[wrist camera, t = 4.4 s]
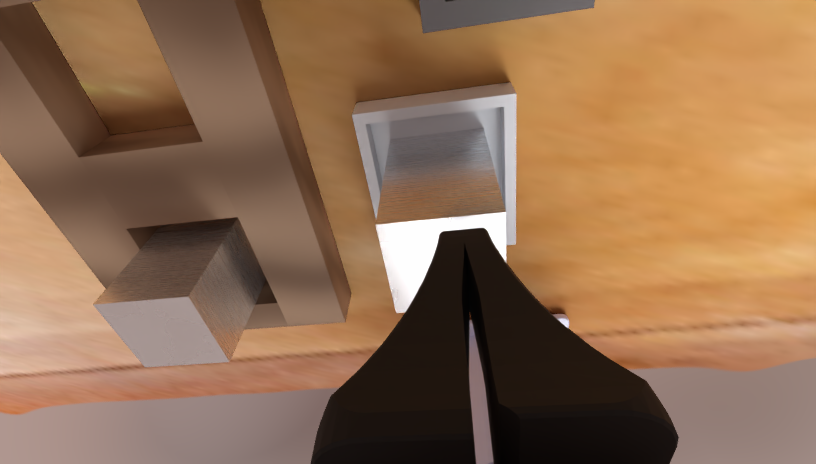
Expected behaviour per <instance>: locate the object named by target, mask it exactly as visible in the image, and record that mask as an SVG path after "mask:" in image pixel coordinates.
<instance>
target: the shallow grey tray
mask: <svg viewBox="0 0 816 464" xmlns="http://www.w3.org/2000/svg"><path fill="white" fill-rule="evenodd" d="M352 118H353V123H354V127H355V131H356V136H357V140H358V144H359V149H360V153H361V157H362V161H363V166H364V170H365V174H366V179H367V183H368V187H369V192H370V196H371V200H372V204H373V209H374V213H375V217H376V219H377V213H378V207H379V201H380V195H381V189H382V184H383V178H384V172H385V166H386V160H387V154H388V148H389V143H390V139H395V138H403V137H411V136H419V135H427V134H436V133H444V132H452V131H460V130H468V129H477V128H484V131H485V135H486V139H487V142H488V146H489V150H490V154H491V158H492V162H493V165H494V169H495V173H496V177H497V181H498V185H499V188H500V192H501V196H502V200H503V204H504V208H505V211H506V245H515V244H516V92H515V90H514V88H513V86H512V84H511V82H507V83H500V84H493V85H485V86H478V87H470V88H463V89H455V90H448V91H440V92H433V93H425V94H418V95H410V96H403V97H395V98H388V99H380V100H373V101H365V102H358V103H356V105H355V108H354V110H353V113H352Z"/></svg>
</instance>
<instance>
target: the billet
mask: <svg viewBox="0 0 816 464" xmlns="http://www.w3.org/2000/svg"><path fill="white" fill-rule="evenodd" d="M375 225H376V230H377V234H378V238H379V242H380V246H381V251H382V255H383V259H384V263H385V268H386V272H387V276H388V280H389V285H390V289H391V293H392V297H393V302H394V306H395V310H396V313H403V312H406V311H407V309H408V307H409V306H410V304H411V302H412V301H413V299H414V297H415V295H416V293H417V291H418V289H419V287H420V285H421V284H422V282H423V280H424V278H425V275H426V273H427V271H428V268H429V266H430V264H431V261H432V258H433V256H434V253H435V250H436V247H437V243H438V238H439V234H440V233H441V232H442V231H451V230H462V229H473V228H485V229H486V230H487V231H488V233H489V235H490V237H491V239H492V241H493V243H494V245H495V246H496V248H497V250H498V251H499V253H500V254H501V256H502V257H503V259H504V260H505V262H506V211H505V208H504V204H503V200H502V196H501V192H500V188H499V185H498V181H497V177H496V173H495V169H494V165H493V162H492V158H491V154H490V150H489V146H488V142H487V139H486V135H485V131H484V128H477V129H468V130H460V131H452V132H444V133H436V134H427V135H419V136H411V137H403V138H395V139H390V143H389V148H388V154H387V160H386V166H385V172H384V178H383V184H382V189H381V195H380V201H379V207H378V213H377V219H376V224H375Z"/></svg>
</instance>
